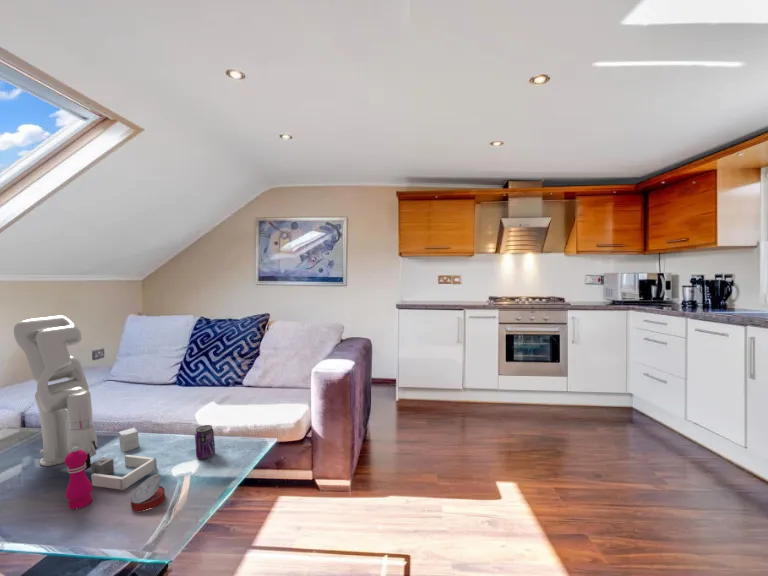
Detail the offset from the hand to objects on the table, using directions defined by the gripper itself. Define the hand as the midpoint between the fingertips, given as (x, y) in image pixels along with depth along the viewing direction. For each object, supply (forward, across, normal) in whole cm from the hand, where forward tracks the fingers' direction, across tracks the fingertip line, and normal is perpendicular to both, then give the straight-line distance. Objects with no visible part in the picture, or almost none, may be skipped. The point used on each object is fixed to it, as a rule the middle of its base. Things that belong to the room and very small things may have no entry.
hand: (85, 468), depth 155 cm
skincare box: (+1, 0, +20) cm, 20 cm away
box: (+1, +19, 0) cm, 19 cm away
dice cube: (+2, +8, 0) cm, 8 cm away
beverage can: (+2, +39, +20) cm, 44 cm away
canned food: (+2, +41, -11) cm, 42 cm away
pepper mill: (+2, +18, -16) cm, 25 cm away
